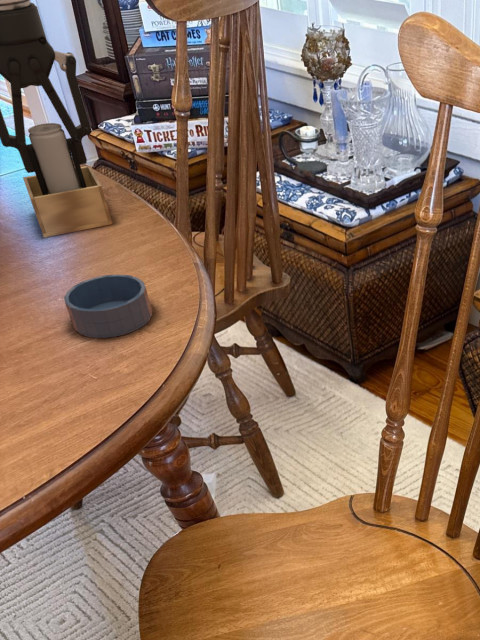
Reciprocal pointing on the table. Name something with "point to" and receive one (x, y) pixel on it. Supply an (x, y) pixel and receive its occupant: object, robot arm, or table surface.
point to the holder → (69, 206)
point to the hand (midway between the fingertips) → (64, 190)
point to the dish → (108, 306)
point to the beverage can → (54, 157)
